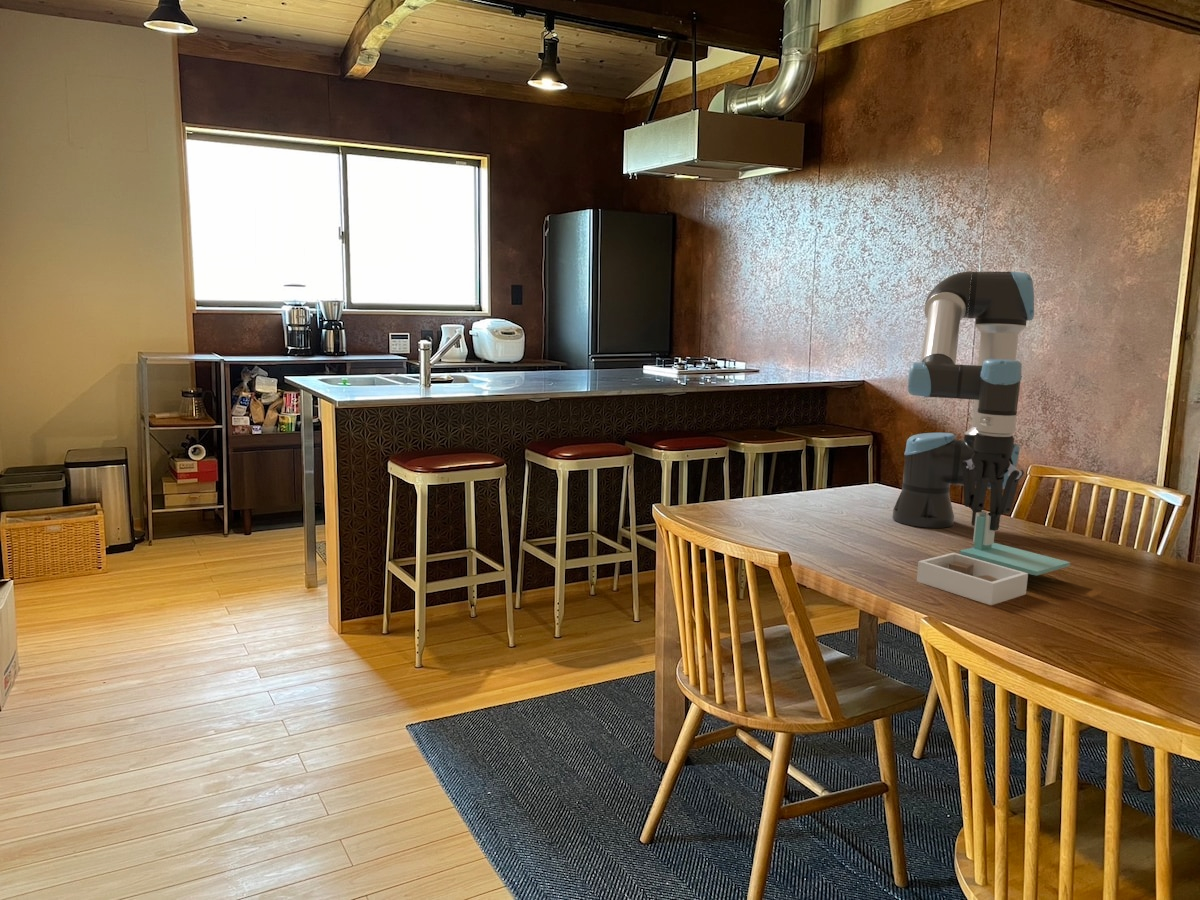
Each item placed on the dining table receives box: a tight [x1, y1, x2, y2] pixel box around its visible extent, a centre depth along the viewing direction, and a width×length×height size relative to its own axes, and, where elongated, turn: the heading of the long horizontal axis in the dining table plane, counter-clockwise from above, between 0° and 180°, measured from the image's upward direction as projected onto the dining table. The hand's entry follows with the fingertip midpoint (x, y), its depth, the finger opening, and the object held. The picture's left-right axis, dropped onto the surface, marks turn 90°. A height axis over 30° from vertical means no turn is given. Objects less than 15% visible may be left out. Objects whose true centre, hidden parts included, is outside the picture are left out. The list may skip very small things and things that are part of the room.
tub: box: [916, 552, 1029, 606], centre depth 170 cm, size 12×16×5 cm
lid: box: [958, 513, 1071, 577], centre depth 178 cm, size 13×17×8 cm
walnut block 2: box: [974, 575, 999, 582], centre depth 165 cm, size 4×4×4 cm
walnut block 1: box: [949, 561, 974, 576], centre depth 174 cm, size 4×4×4 cm
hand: (983, 542), depth 184 cm, fingers closed on lid, 2 cm apart
